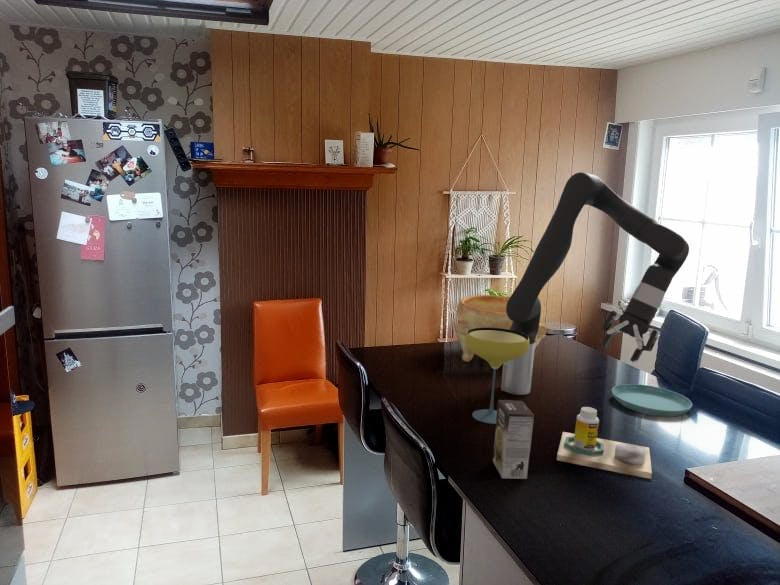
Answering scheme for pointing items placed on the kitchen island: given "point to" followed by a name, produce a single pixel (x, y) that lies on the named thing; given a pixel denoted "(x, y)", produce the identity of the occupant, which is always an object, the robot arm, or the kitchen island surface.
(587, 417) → the supplement bottle
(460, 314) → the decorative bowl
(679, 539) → the kitchen island surface
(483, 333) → the cocktail glass
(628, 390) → the saucer
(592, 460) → the carrier board
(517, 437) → the coffee box
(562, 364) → the kitchen island surface
